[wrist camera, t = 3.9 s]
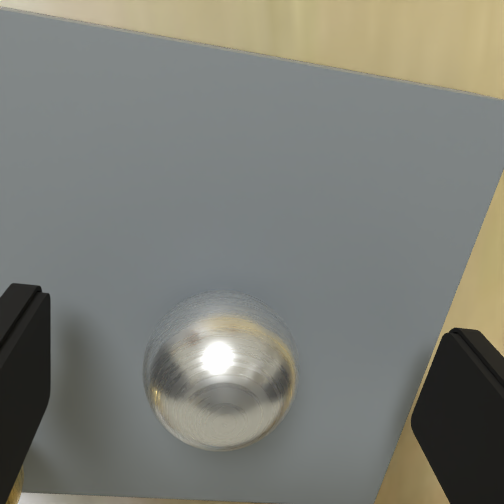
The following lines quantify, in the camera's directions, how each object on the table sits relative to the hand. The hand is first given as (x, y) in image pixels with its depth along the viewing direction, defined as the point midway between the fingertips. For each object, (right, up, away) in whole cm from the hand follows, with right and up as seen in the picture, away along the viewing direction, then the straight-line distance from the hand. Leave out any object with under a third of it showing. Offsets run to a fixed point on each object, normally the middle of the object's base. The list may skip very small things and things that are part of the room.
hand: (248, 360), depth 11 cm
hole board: (-8, +2, +2) cm, 9 cm away
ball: (-1, 0, 0) cm, 1 cm away
